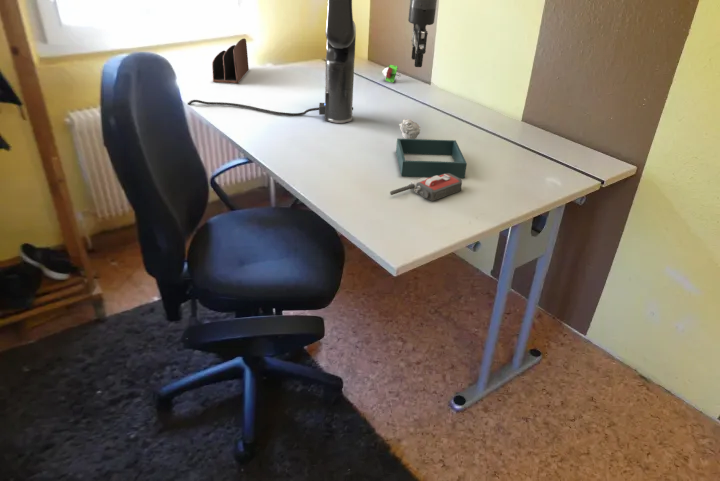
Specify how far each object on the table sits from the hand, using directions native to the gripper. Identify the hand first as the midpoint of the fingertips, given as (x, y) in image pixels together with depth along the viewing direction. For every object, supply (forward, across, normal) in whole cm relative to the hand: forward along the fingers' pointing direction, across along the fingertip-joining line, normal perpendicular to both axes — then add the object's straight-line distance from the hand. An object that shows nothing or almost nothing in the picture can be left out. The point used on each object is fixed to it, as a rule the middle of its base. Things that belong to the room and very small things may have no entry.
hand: (416, 63), depth 165 cm
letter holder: (+24, -58, -67) cm, 92 cm away
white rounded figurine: (+23, +5, 0) cm, 24 cm away
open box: (+23, +23, +4) cm, 33 cm away
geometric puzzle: (+23, -60, -2) cm, 64 cm away
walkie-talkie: (+23, +41, +1) cm, 47 cm away
